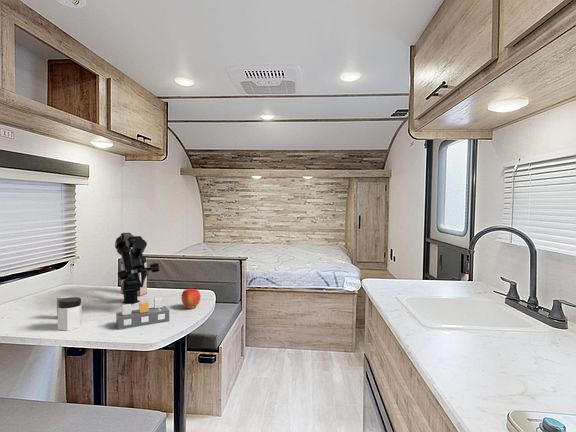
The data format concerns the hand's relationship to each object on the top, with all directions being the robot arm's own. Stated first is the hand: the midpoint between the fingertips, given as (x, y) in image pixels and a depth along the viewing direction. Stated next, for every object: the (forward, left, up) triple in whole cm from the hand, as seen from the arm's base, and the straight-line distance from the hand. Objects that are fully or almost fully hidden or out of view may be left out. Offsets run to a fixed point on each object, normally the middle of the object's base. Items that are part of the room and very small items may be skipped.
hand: (141, 287), depth 167 cm
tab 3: (+12, -2, -8) cm, 15 cm away
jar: (-14, -26, -13) cm, 32 cm away
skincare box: (-27, -19, -13) cm, 36 cm away
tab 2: (+11, -10, -8) cm, 17 cm away
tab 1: (+7, -16, -8) cm, 19 cm away
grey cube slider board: (+10, -9, -13) cm, 19 cm away
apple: (+15, +18, -13) cm, 27 cm away
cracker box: (-32, +26, -13) cm, 43 cm away
